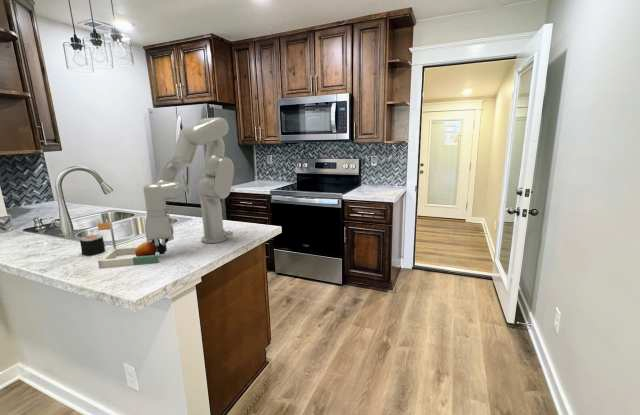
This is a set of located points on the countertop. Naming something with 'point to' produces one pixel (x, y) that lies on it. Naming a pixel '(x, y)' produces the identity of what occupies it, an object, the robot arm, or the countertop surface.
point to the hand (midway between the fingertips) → (162, 253)
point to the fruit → (146, 249)
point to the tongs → (123, 253)
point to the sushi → (92, 245)
